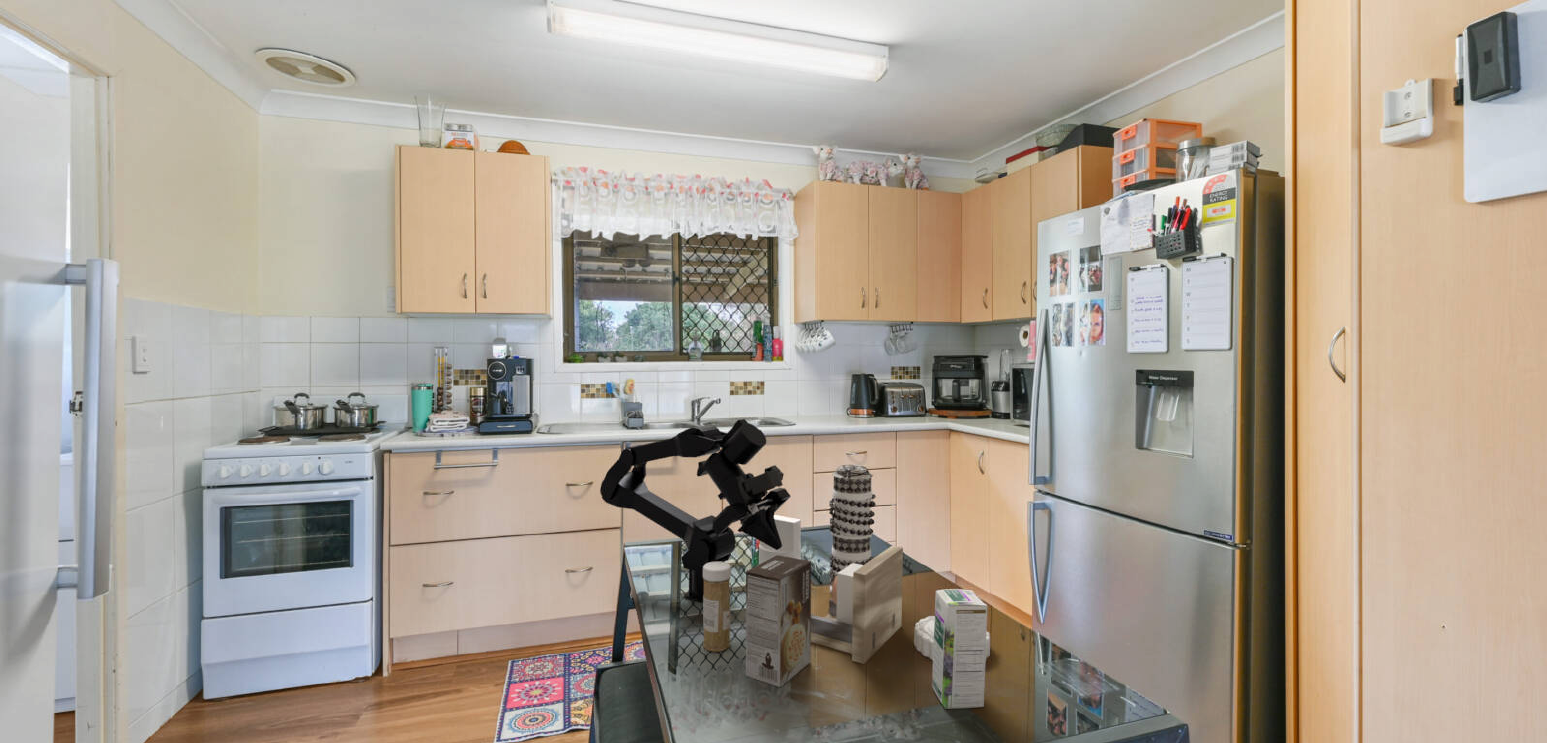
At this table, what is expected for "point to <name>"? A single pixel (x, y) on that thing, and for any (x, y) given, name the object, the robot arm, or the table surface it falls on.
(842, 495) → the decorative candle
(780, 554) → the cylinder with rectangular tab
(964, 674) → the syrup box
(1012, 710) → the table surface
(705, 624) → the sprinkles bottle
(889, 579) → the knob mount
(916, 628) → the mooncake
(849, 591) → the push knob
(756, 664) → the coffee box
